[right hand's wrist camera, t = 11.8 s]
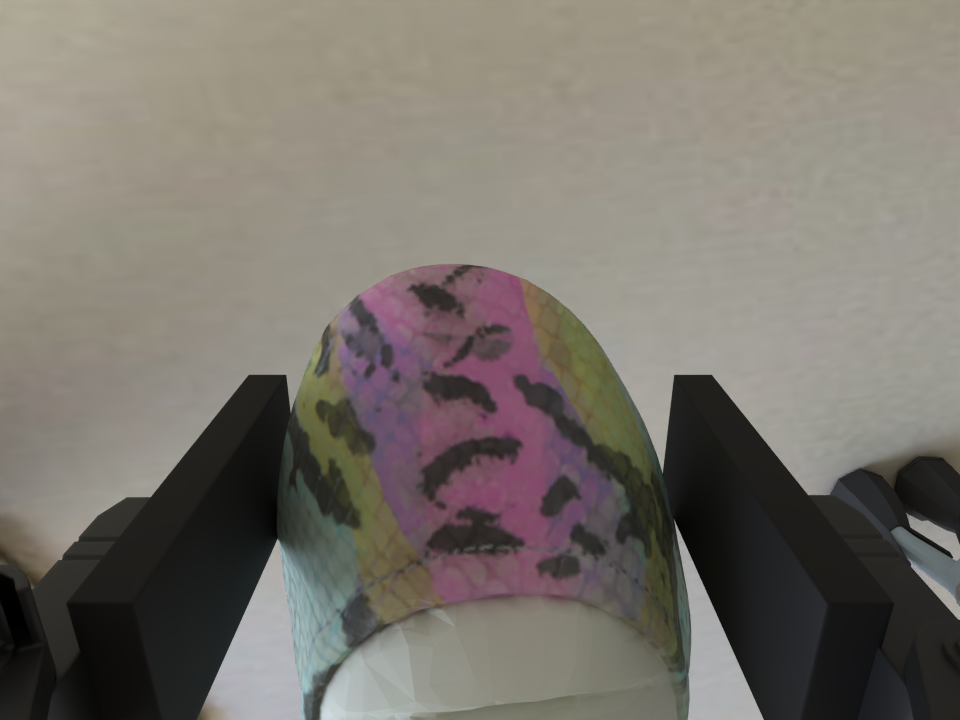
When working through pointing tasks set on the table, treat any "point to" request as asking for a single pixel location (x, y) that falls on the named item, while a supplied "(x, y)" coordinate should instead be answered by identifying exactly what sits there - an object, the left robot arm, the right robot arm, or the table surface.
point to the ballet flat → (476, 515)
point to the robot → (912, 513)
